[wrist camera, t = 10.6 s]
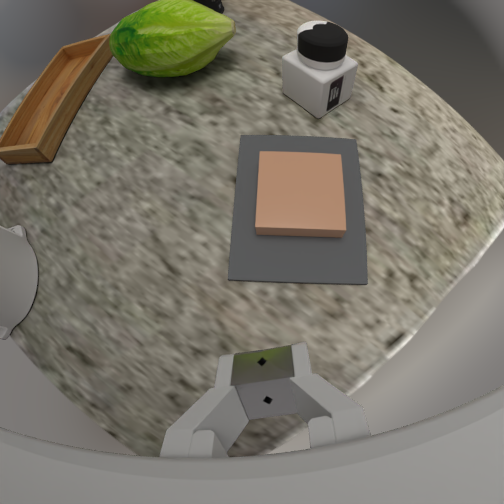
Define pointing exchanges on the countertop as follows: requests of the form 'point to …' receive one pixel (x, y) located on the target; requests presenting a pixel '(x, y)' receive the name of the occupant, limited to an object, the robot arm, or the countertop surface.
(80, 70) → the tray
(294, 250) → the mat
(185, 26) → the lettuce
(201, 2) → the milk frother
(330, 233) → the block
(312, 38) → the container
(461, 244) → the countertop surface
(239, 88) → the countertop surface
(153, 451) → the countertop surface
